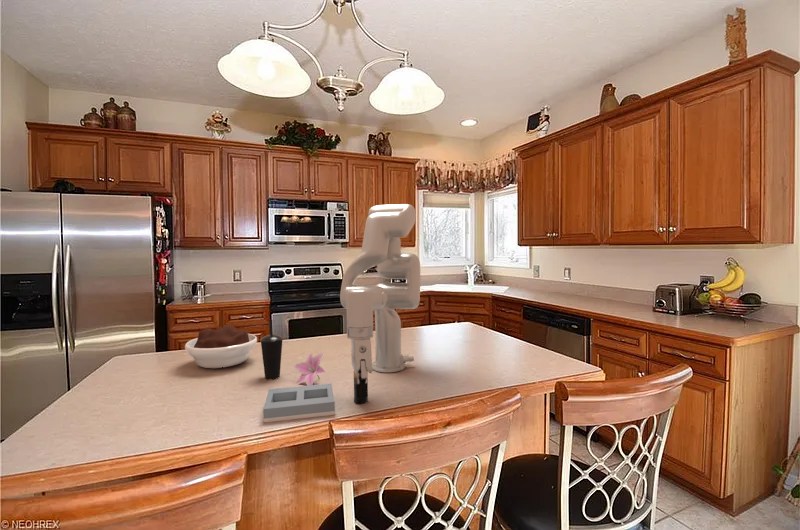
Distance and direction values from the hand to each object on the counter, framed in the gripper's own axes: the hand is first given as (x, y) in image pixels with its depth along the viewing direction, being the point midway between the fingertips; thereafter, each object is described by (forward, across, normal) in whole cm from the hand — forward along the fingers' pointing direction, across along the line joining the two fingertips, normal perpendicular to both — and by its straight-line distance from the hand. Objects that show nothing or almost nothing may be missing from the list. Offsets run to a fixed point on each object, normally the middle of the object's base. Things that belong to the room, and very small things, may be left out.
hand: (360, 393), depth 109 cm
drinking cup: (+2, +28, +27) cm, 39 cm away
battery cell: (+2, 0, 0) cm, 2 cm away
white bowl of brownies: (+3, +48, +47) cm, 67 cm away
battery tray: (+2, 0, +17) cm, 17 cm away
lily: (+3, +19, +14) cm, 24 cm away
